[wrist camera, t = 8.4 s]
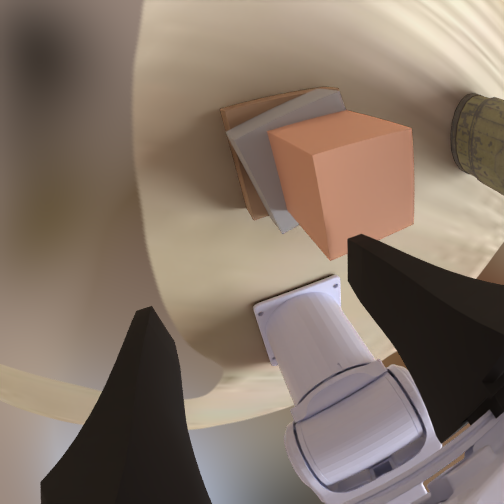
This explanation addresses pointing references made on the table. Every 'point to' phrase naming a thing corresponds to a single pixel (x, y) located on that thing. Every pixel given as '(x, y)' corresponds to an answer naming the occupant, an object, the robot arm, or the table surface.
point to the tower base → (242, 114)
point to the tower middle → (260, 153)
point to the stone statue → (480, 139)
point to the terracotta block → (346, 177)
